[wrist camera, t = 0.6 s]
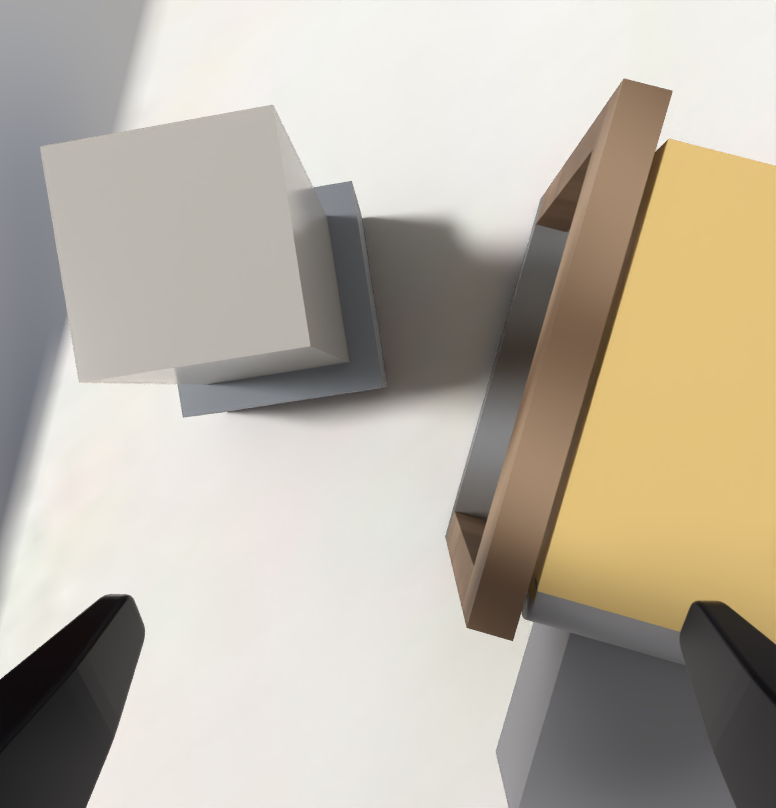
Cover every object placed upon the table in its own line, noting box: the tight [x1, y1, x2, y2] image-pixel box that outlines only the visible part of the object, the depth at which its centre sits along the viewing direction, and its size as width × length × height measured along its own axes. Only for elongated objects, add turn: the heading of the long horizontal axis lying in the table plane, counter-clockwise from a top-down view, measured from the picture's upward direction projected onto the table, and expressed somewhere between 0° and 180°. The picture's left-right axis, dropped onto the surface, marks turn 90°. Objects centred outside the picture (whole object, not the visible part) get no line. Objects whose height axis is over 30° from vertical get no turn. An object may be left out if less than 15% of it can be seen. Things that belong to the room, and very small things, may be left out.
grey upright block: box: [40, 105, 349, 385], centre depth 15 cm, size 5×5×7 cm
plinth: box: [178, 181, 387, 417], centre depth 20 cm, size 7×7×4 cm
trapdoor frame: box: [445, 79, 672, 641], centre depth 17 cm, size 14×15×8 cm
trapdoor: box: [496, 139, 776, 808], centre depth 15 cm, size 18×12×4 cm, turn 165°
